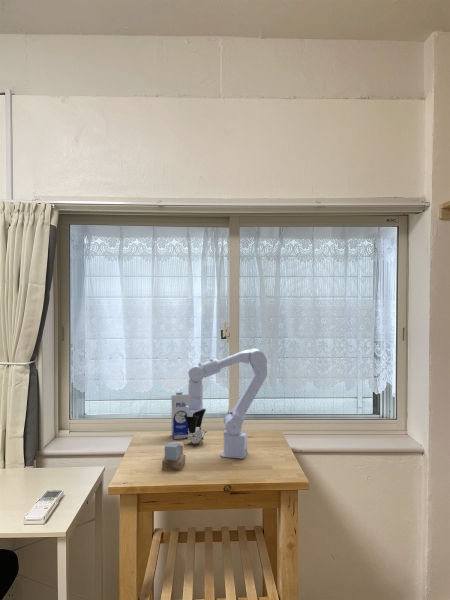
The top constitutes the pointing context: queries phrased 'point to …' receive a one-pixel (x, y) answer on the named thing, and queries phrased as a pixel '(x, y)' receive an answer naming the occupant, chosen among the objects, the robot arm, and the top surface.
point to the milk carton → (179, 416)
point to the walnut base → (173, 463)
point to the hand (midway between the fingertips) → (195, 429)
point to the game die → (196, 436)
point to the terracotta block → (181, 447)
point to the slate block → (172, 451)
